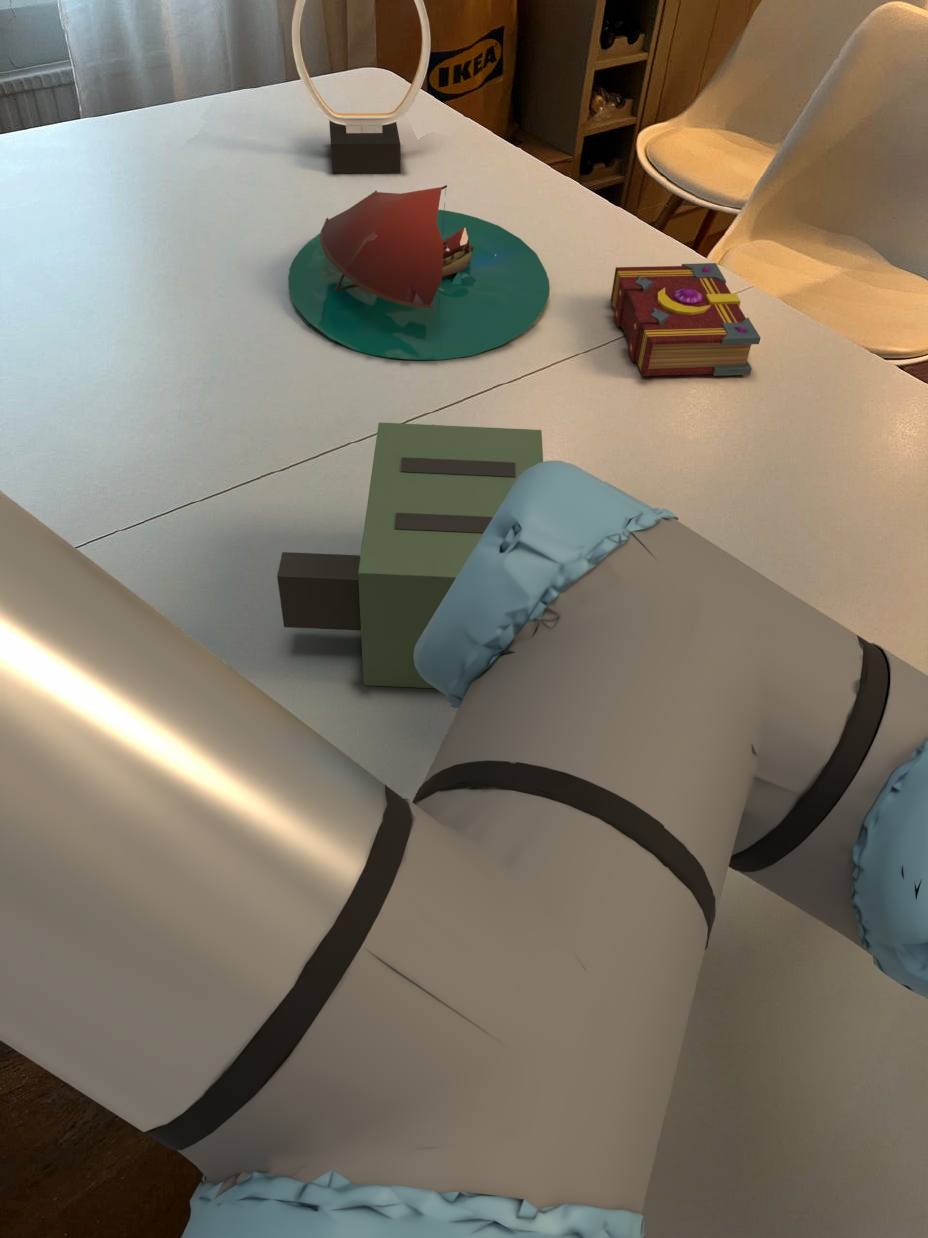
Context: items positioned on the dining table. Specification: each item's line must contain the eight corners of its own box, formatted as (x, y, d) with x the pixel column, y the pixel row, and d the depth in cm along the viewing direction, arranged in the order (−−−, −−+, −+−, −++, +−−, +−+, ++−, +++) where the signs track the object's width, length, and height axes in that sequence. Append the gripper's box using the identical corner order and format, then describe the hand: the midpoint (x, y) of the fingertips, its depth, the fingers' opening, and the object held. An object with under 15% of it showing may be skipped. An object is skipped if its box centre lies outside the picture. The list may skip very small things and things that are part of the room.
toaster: (362, 685, 70) (357, 571, 62) (380, 534, 81) (377, 420, 73) (533, 692, 71) (549, 580, 63) (528, 540, 82) (541, 428, 74)
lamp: (424, 145, 136) (428, -143, 113) (431, 172, 130) (436, -126, 107) (300, 146, 134) (278, -147, 112) (301, 173, 128) (278, -130, 105)
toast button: (283, 627, 70) (276, 576, 66) (288, 603, 72) (282, 551, 68) (361, 631, 70) (358, 579, 66) (364, 606, 72) (361, 555, 68)
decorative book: (639, 381, 98) (648, 335, 95) (604, 298, 110) (611, 254, 106) (750, 377, 100) (763, 332, 96) (704, 296, 111) (714, 253, 107)
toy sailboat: (242, 271, 110) (227, 173, 102) (445, 197, 122) (448, 103, 113) (386, 408, 97) (383, 309, 88) (600, 312, 108) (616, 215, 100)
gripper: (1138, 691, 39) (892, 656, 60) (491, 665, 38) (474, 639, 59) (1126, 884, 39) (885, 781, 60) (482, 861, 38) (469, 766, 59)
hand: (681, 711), depth 60 cm, fingers open, 13 cm apart
